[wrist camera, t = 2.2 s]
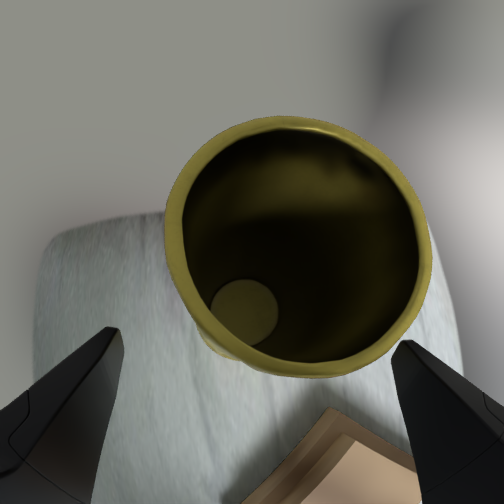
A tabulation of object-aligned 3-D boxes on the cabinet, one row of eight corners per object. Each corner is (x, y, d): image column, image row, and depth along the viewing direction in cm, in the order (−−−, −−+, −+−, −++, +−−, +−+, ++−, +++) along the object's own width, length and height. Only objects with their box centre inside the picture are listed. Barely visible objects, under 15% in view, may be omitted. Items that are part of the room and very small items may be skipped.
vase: (306, 300, 19) (467, 203, 6) (257, 378, 17) (370, 460, 4) (230, 249, 20) (261, 67, 6) (176, 325, 18) (67, 265, 4)
